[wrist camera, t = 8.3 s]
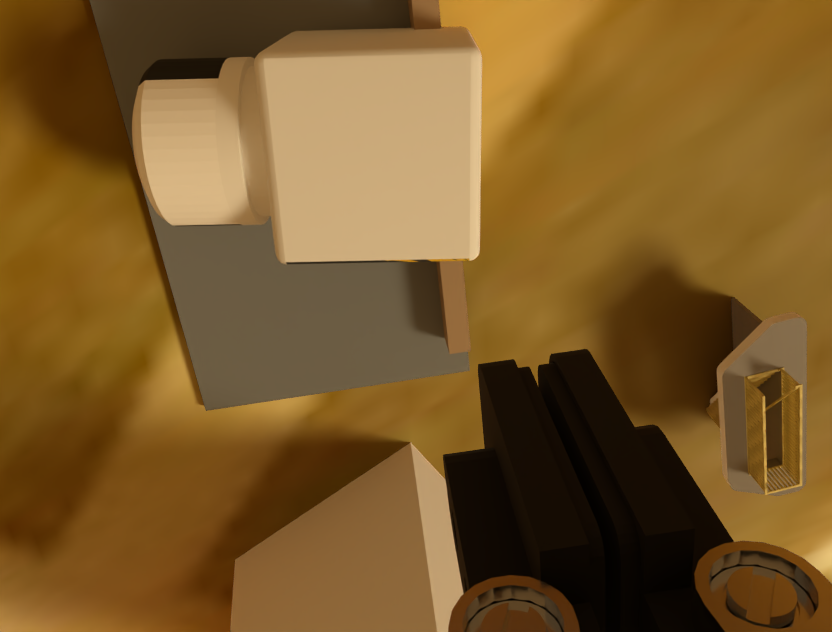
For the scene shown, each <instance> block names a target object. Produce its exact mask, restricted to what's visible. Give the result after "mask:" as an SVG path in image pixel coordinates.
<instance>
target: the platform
mask: <svg viewBox="0 0 832 632" xmlns="http://www.w3.org/2000/svg"><path fill="white" fill-rule="evenodd" d="M731 312H732V334H733V351H732V352H731V353H730V354H729V355H728V356H727V357H726V358H725V359H724V360H723V361H722V362H721V363H720V364H719V366H718V368H717V386H718V392H717V393H716V394H715V395H714V396H713V397H712V398H711V399H710V405H709V406H708V408H706V410H707V411H706V412H707V413H708V415H709V416H710V417H711V418H712V420H713V421H714V422H715V423H716V424H717V426H718V427H719V428H720V437H721V454H722V472H723V476H724V477H725V479H726V481H727V482H728V484H729V485H730V486H731V488H732V489H733V490H735V491H742V492H750V493H758V494H765V495H774V496H780V495H784V494H788V493H792V492H796V491H799V490H801V489H802V488H803V487H804V486H805V484H806V392H807V323H806V321H805V319H803V318H802V317H801V316H799V315H798V314H797V313H795V312H789V313H785V314H781V315H777V316H773V317H769V318H767V319H765V320H764V321H763V322H762V321H761V320H760V319H759V318H758V317H757V316H755V315H754V314H753V313H752V312H751V311H750V310H748V309H747V308H746V307H745V306H744V305H743V304H741V303H740V302H739V301H738V300H737V299H735V298H731Z"/></svg>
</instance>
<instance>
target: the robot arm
mask: <svg viewBox="0 0 832 632" xmlns="http://www.w3.org/2000/svg"><path fill="white" fill-rule="evenodd" d="M478 377H479V388H480V400H481V411H482V422H483V434H484V445H485V449H480V450H473V451H466V452H459V453H452V454H445V455H443V461H444V470H445V479H446V487H447V495H448V503H449V511H450V518H451V524H452V531H453V537H454V543H455V549H456V555H457V560H458V566H459V571H460V577H461V582H462V588H463V595H462V596H461V597H460V598H459V600H458V602H457V603H456V605H455V606H454V608H453V609H452V612H451V617H450V621H449V626H448V632H832V584H831V583H830V582H829V581H828V580H827V579H826V577H825V576H824V575H823V574H822V573H821V572H820V571H819V570H817V569H816V568H815V567H814V566H812V565H811V564H810V563H809V562H807V561H806V560H805V559H804V558H802V557H800V556H798V555H796V554H794V553H792V552H790V551H788V550H786V549H784V548H781V547H778V546H774V545H770V544H767V543H763V542H752V541H738V542H734V541H733V540H732V538H731V536H730V535H729V533H728V532H727V530H726V529H725V527H724V526H723V524H722V523H721V521H720V520H719V518H718V516H717V515H716V513H715V512H714V510H713V509H712V507H711V506H710V504H709V503H708V501H707V500H706V498H705V496H704V495H703V493H702V492H701V490H700V489H699V487H698V486H697V484H696V483H695V481H694V480H693V478H692V476H691V475H690V473H689V472H688V470H687V469H686V467H685V466H684V464H683V463H682V461H681V460H680V458H679V456H678V455H677V453H676V452H675V450H674V449H673V447H672V446H671V444H670V443H669V441H668V440H667V438H666V436H665V435H664V433H663V432H662V431H661V430H660V428H659V427H658V426H655V425H647V426H640V427H634V425H633V424H632V422H631V420H630V419H629V417H628V415H627V414H626V412H625V410H624V409H623V407H622V405H621V404H620V402H619V400H618V399H617V397H616V395H615V394H614V392H613V390H612V389H611V387H610V385H609V384H608V382H607V380H606V379H605V377H604V375H603V374H602V372H601V370H600V369H599V367H598V365H597V364H596V362H595V360H594V359H593V357H592V355H591V354H590V352H589V351H588V350H587V349H583V350H576V351H569V352H562V353H555V354H551V355H550V359H549V364H543V365H539V366H538V385H537V383H536V381H535V379H534V376H533V374H532V372H531V369H530V368H529V367H522V368H518V367H517V365H516V362H515V360H513V359H512V360H505V361H498V362H491V363H484V364H479V365H478ZM538 387H539V388H538Z"/></svg>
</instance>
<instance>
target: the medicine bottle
mask: <svg viewBox="0 0 832 632" xmlns="http://www.w3.org/2000/svg"><path fill="white" fill-rule="evenodd" d="M481 103H482V56H481V52H480V50H479V48H478V46H477V44H476V43H475V41H474V39H473V37H472V35H471V34H470V32H469V31H468V30H467V29H466V28H464V27H441V29H418V30H415V29H414V28H389V29H351V30H313V31H294V32H291V33H290V34H288V35H287V36H285V37H283V38H282V39H280V40H279V41H277V42H276V43H274V44H272V45H271V46H269V47H268V48H266V49H264V50H263V51H261V52H260V53H259V54H258V55H257V56H256V57H255V59H254V58H253V57H226V58H187V59H160V60H157V61H155V62H154V63H153V64H152V65H151V66H150V67H149V68H148V69H147V70H146V71H145V72H144V74H143V76H142V78H141V80H140V83H139V86H138V90H137V95H136V99H135V103H134V108H133V117H132V140H133V150H134V156H135V162H136V166H137V170H138V174H139V177H140V180H141V183H142V185H143V188H144V190H145V192H146V194H147V196H148V199H149V201H150V203H151V205H152V206H153V208H154V210H155V211H156V212H157V214H158V215H159V216H160V217H162V218H163V219H164V220H166V221H167V222H168V223H170V224H171V225H173V226H220V225H262V224H265V223H266V222H267V220H268V218H269V216H271V221H272V230H273V238H274V246H275V253H276V257H277V259H278V260H279V261H280V262H281V263H283V264H332V263H381V262H431V261H470V260H473V259H475V258H476V257H477V256H478V255H479V251H480V184H481Z"/></svg>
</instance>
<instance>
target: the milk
mask: <svg viewBox="0 0 832 632" xmlns="http://www.w3.org/2000/svg"><path fill="white" fill-rule="evenodd" d="M462 595H463V588H462V582H461V577H460V571H459V566H458V560H457V555H456V549H455V543H454V537H453V531H452V524H451V518H450V511H449V503H448V495H447V487H446V480H445V479H444V478H443V477H442V476H441V475H440V473H439V472H438V471H437V470H436V469H435V468H434V467H433V466H432V465H431V464H430V463H429V462H428V461H427V459H426V458H425V457H424V456H423V455H422V454H421V453H420V452H419V451H418V450H417V449H416V448H415V447H414V445H413V444H412V443H409V444H408V445H406V446H405V447H403V448H402V449H400V450H399V451H397V452H396V453H394V454H393V455H391V456H390V457H388V458H387V459H385V460H384V461H382V462H381V463H379V464H378V465H376V466H375V467H373V468H372V469H370V470H369V471H367V472H366V473H364V474H363V475H361V476H360V477H358V478H357V479H355V480H354V481H352V482H351V483H349V484H348V485H346V486H345V487H343V488H342V489H340V490H339V491H337V492H336V493H334V494H333V495H331V496H330V497H328V498H327V499H325V500H324V501H322V502H321V503H319V504H318V505H316V506H315V507H313V508H312V509H310V510H309V511H307V512H306V513H304V514H303V515H301V516H300V517H298V518H297V519H295V520H294V521H292V522H291V523H289V524H288V525H286V526H285V527H283V528H282V529H280V530H279V531H277V532H276V533H274V534H273V535H271V536H270V537H268V538H267V539H265V540H264V541H262V542H261V543H259V544H258V545H256V546H255V547H253V548H252V549H250V550H249V551H247V552H246V553H244V554H243V555H241V556H240V557H238V558H237V559H235V569H234V583H233V597H232V611H231V625H230V632H448V626H449V621H450V617H451V612H452V609H453V608H454V606H455V605H456V603H457V602H458V600H459V598H460V597H461V596H462Z"/></svg>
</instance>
